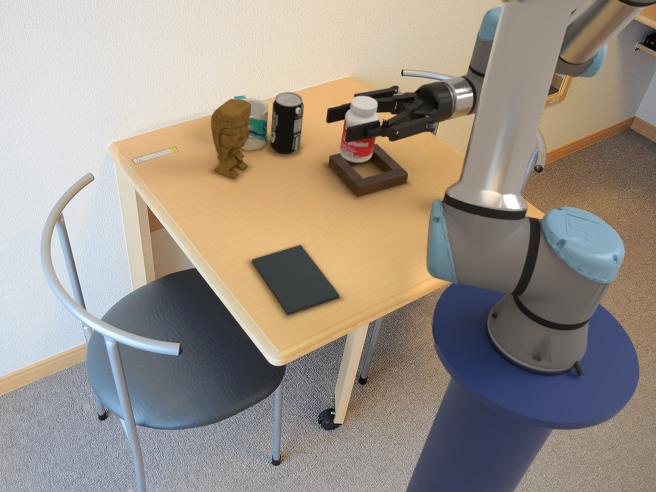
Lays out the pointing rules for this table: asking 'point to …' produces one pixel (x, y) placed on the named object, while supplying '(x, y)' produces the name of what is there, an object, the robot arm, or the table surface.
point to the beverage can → (287, 122)
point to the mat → (295, 279)
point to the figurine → (231, 135)
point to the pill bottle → (359, 114)
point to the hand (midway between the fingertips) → (337, 125)
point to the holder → (374, 183)
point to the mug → (256, 123)
